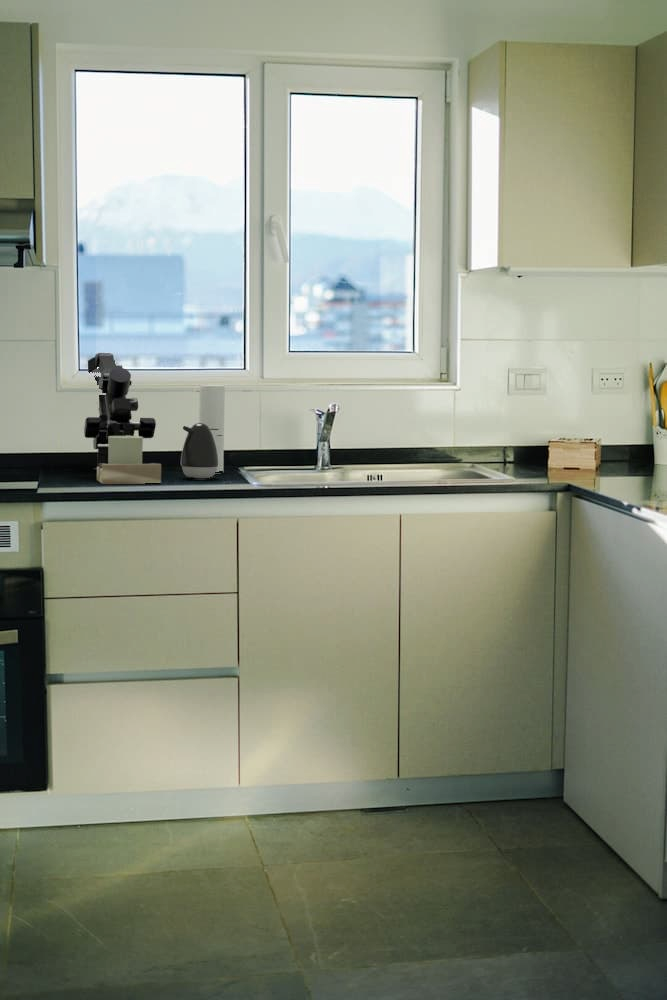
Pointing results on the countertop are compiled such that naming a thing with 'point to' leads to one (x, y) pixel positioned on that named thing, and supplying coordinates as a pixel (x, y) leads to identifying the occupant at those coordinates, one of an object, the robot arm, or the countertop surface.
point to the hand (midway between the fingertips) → (123, 450)
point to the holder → (129, 473)
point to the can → (125, 449)
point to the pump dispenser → (199, 452)
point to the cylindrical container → (213, 416)
